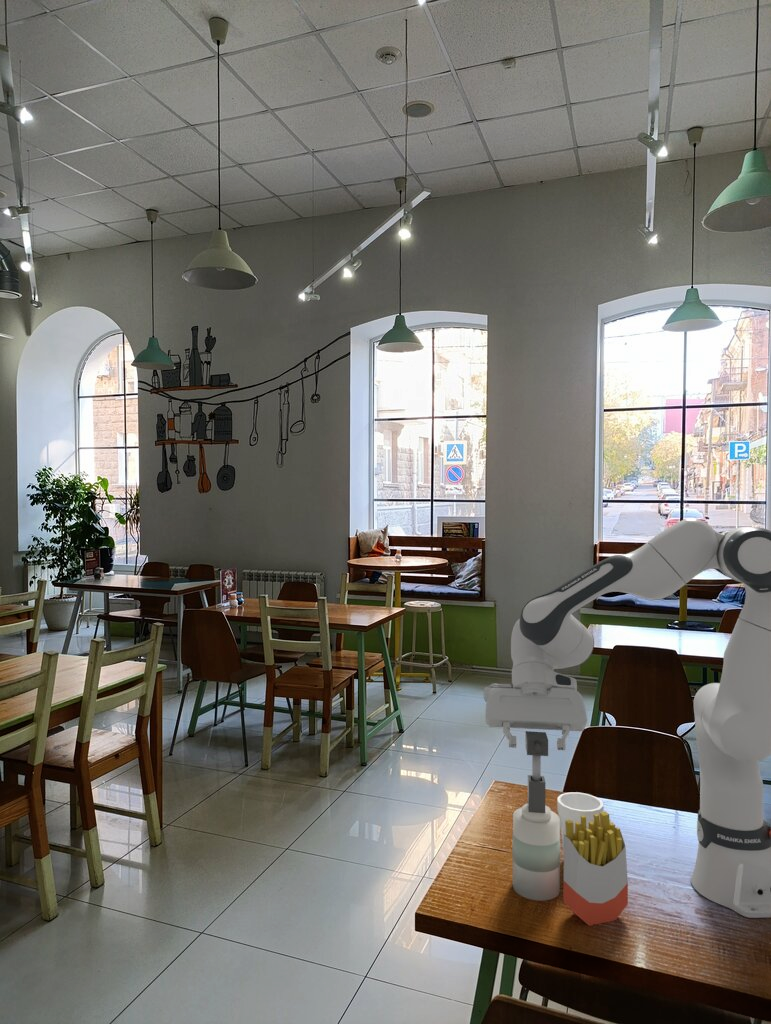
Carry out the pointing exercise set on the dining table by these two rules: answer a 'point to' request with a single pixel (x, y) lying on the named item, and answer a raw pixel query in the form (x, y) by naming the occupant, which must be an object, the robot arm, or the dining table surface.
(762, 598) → the robot arm
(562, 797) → the foam cup
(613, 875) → the french fries container
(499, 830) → the dining table surface
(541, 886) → the syrup bottle
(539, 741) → the pump head
